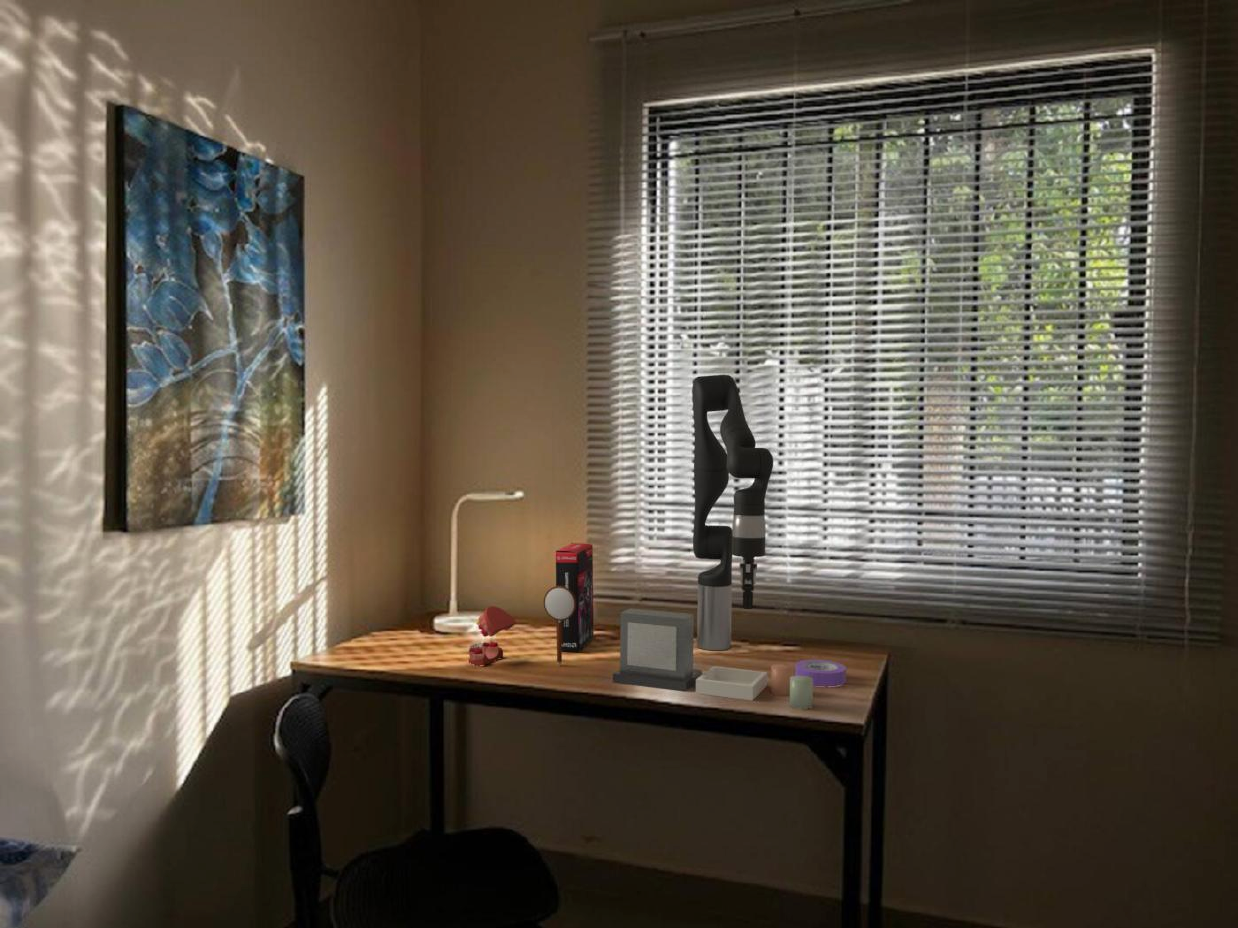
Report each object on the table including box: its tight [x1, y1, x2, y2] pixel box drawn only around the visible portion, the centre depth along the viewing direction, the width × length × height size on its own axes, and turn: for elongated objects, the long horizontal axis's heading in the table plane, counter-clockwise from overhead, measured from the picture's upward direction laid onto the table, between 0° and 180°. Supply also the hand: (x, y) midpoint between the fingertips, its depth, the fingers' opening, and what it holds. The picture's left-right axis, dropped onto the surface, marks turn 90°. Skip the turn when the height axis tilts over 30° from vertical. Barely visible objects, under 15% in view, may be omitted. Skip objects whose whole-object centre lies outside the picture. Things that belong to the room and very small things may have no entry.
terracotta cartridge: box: [770, 663, 794, 697], centre depth 202 cm, size 5×5×6 cm
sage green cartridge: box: [789, 675, 814, 709], centre depth 193 cm, size 5×5×6 cm
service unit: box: [612, 607, 703, 692], centre depth 212 cm, size 12×18×16 cm, turn 67°
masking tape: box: [794, 659, 847, 687], centre depth 213 cm, size 12×12×4 cm
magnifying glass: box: [543, 585, 576, 667], centre depth 224 cm, size 9×2×20 cm, turn 71°
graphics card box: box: [555, 542, 595, 653], centre depth 246 cm, size 17×7×27 cm, turn 168°
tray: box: [695, 665, 768, 701], centre depth 205 cm, size 13×13×3 cm
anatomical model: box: [467, 605, 517, 666], centre depth 228 cm, size 10×8×15 cm
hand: (747, 605), depth 206 cm, fingers open, 8 cm apart
